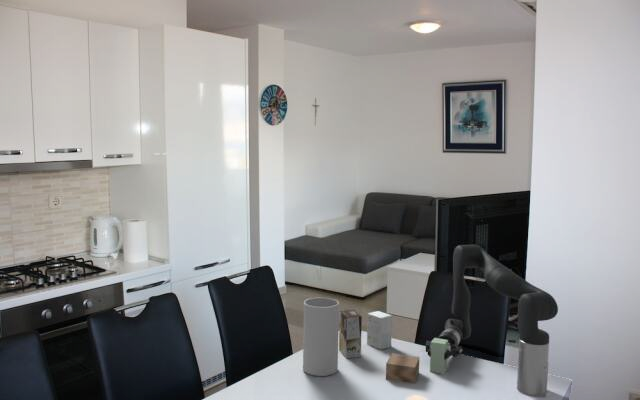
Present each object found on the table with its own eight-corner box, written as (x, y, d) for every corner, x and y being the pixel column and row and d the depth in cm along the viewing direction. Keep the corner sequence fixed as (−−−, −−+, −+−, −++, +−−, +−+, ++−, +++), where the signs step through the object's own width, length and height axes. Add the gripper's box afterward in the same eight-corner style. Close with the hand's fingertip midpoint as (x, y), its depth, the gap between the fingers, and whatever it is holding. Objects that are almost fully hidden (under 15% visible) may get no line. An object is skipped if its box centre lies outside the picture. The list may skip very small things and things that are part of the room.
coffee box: (361, 356, 215) (362, 316, 214) (346, 358, 213) (346, 317, 212) (353, 348, 224) (354, 309, 222) (338, 350, 222) (338, 310, 220)
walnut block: (418, 373, 201) (419, 357, 200) (414, 384, 192) (415, 367, 191) (391, 369, 204) (391, 353, 204) (385, 380, 195) (386, 363, 194)
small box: (391, 346, 227) (392, 315, 226) (380, 349, 223) (381, 318, 222) (377, 340, 233) (378, 310, 232) (366, 344, 229) (367, 313, 228)
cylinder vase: (342, 367, 205) (344, 300, 203) (329, 379, 194) (330, 309, 191) (312, 361, 210) (313, 296, 208) (296, 373, 199) (297, 304, 197)
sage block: (447, 369, 205) (448, 340, 203) (443, 374, 200) (444, 344, 199) (433, 366, 207) (434, 337, 206) (429, 371, 202) (430, 342, 201)
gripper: (430, 328, 218) (418, 341, 203) (467, 334, 212) (457, 348, 197) (429, 347, 219) (417, 361, 204) (466, 353, 213) (457, 369, 198)
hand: (437, 355), depth 200 cm, fingers closed on sage block, 5 cm apart
